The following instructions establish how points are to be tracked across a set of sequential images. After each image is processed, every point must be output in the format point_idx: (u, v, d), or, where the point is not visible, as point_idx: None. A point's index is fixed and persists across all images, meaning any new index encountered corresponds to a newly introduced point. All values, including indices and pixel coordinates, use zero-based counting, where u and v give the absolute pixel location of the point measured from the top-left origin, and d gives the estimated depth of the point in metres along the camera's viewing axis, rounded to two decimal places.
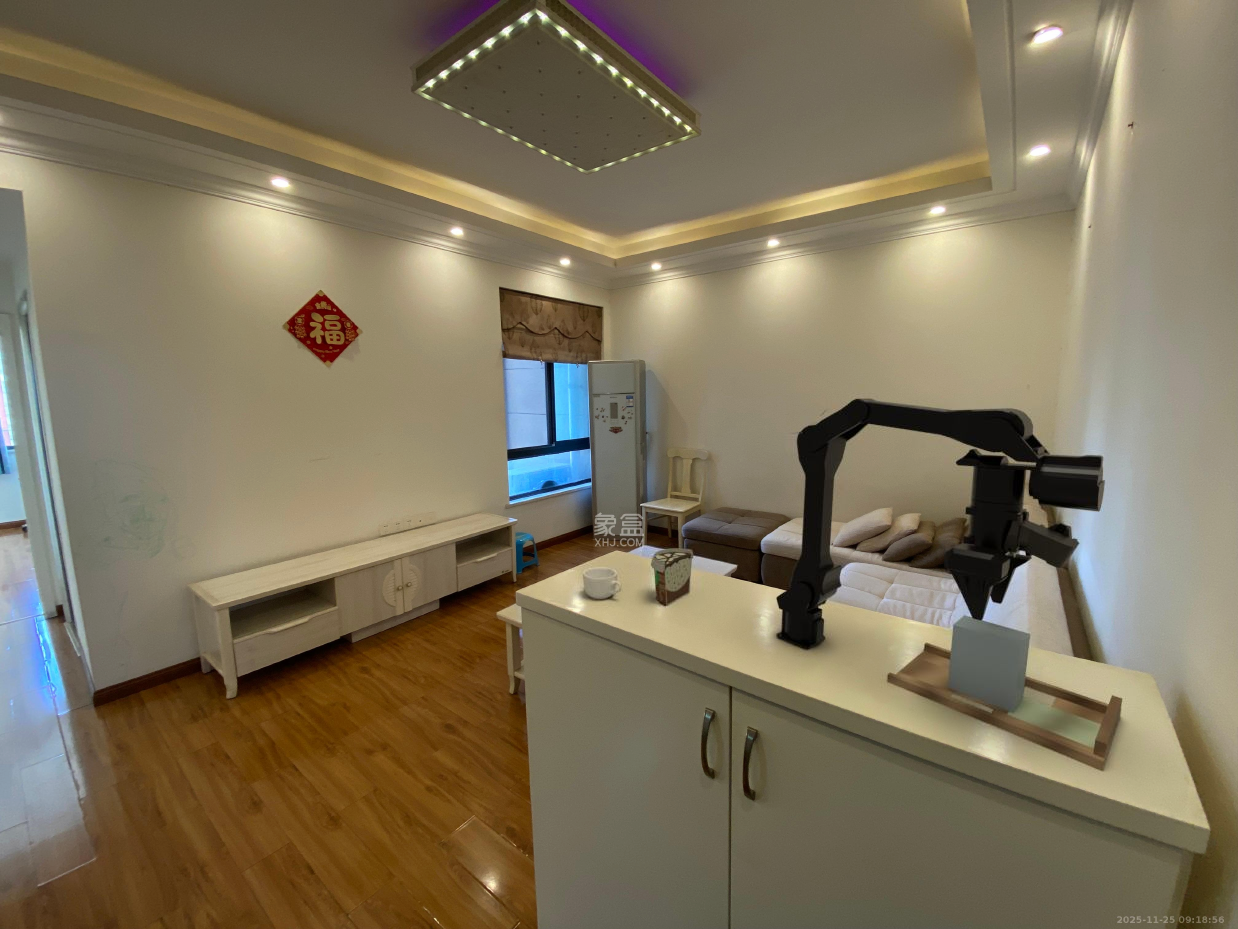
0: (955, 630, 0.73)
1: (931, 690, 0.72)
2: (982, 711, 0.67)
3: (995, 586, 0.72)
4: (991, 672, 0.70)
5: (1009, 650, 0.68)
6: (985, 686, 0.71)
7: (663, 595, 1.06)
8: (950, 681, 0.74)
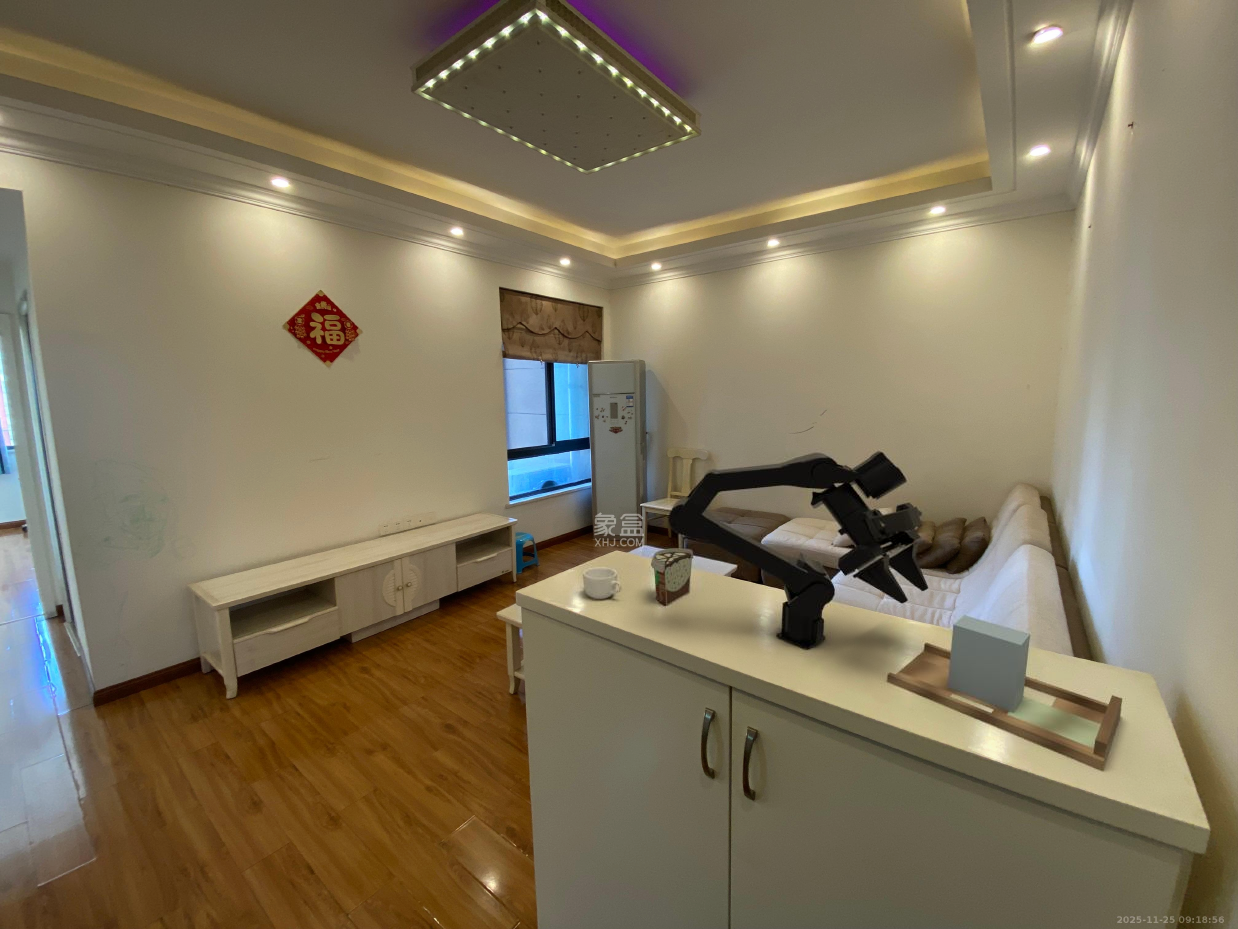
0: (955, 630, 0.73)
1: (931, 690, 0.72)
2: (982, 711, 0.67)
3: (913, 578, 0.83)
4: (991, 672, 0.70)
5: (1009, 650, 0.68)
6: (985, 686, 0.71)
7: (663, 595, 1.06)
8: (950, 681, 0.74)
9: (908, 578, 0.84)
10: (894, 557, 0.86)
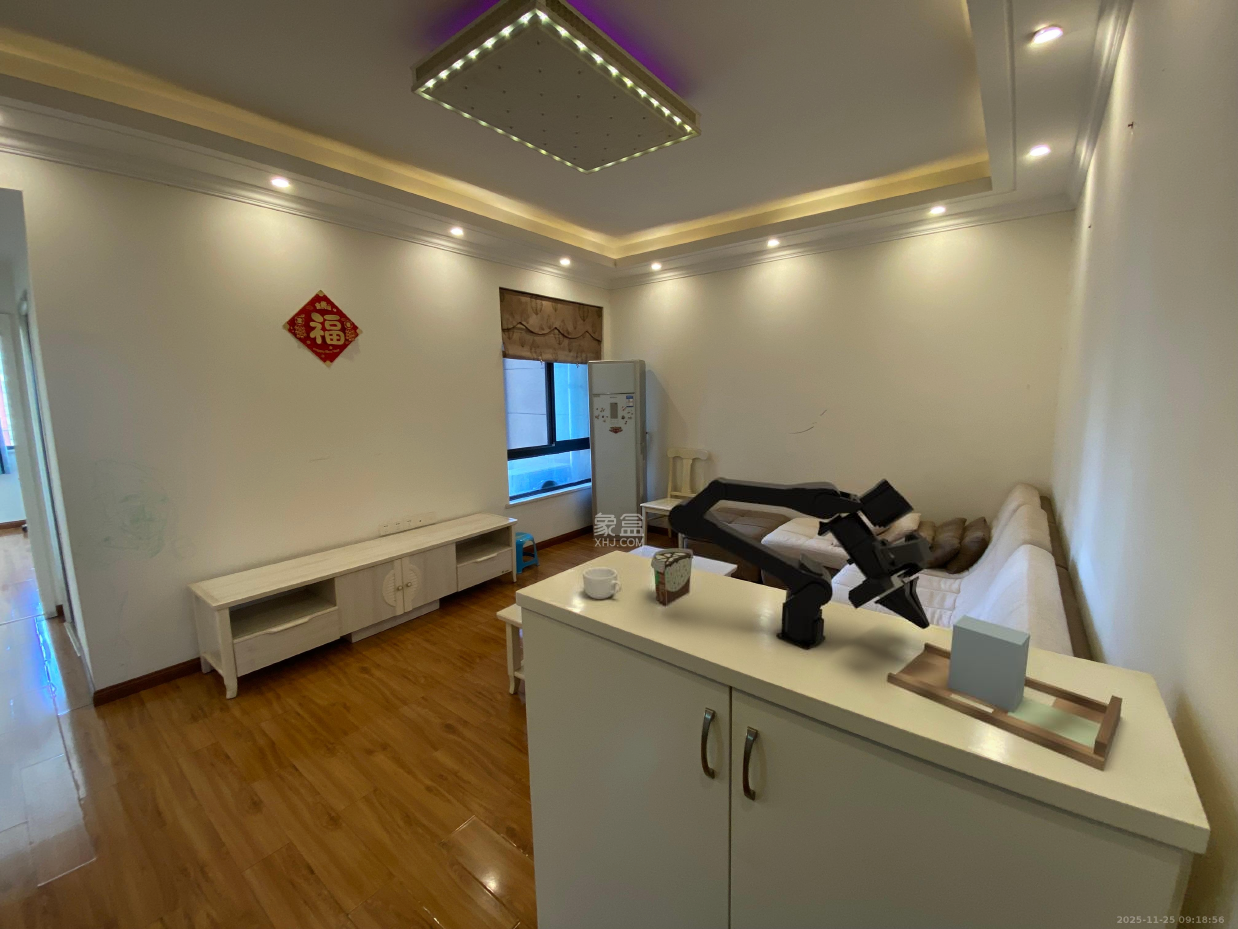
0: (955, 630, 0.73)
1: (931, 690, 0.72)
2: (982, 711, 0.67)
3: None
4: (991, 672, 0.70)
5: (1009, 650, 0.68)
6: (985, 686, 0.71)
7: (663, 595, 1.06)
8: (950, 681, 0.74)
9: None
10: None
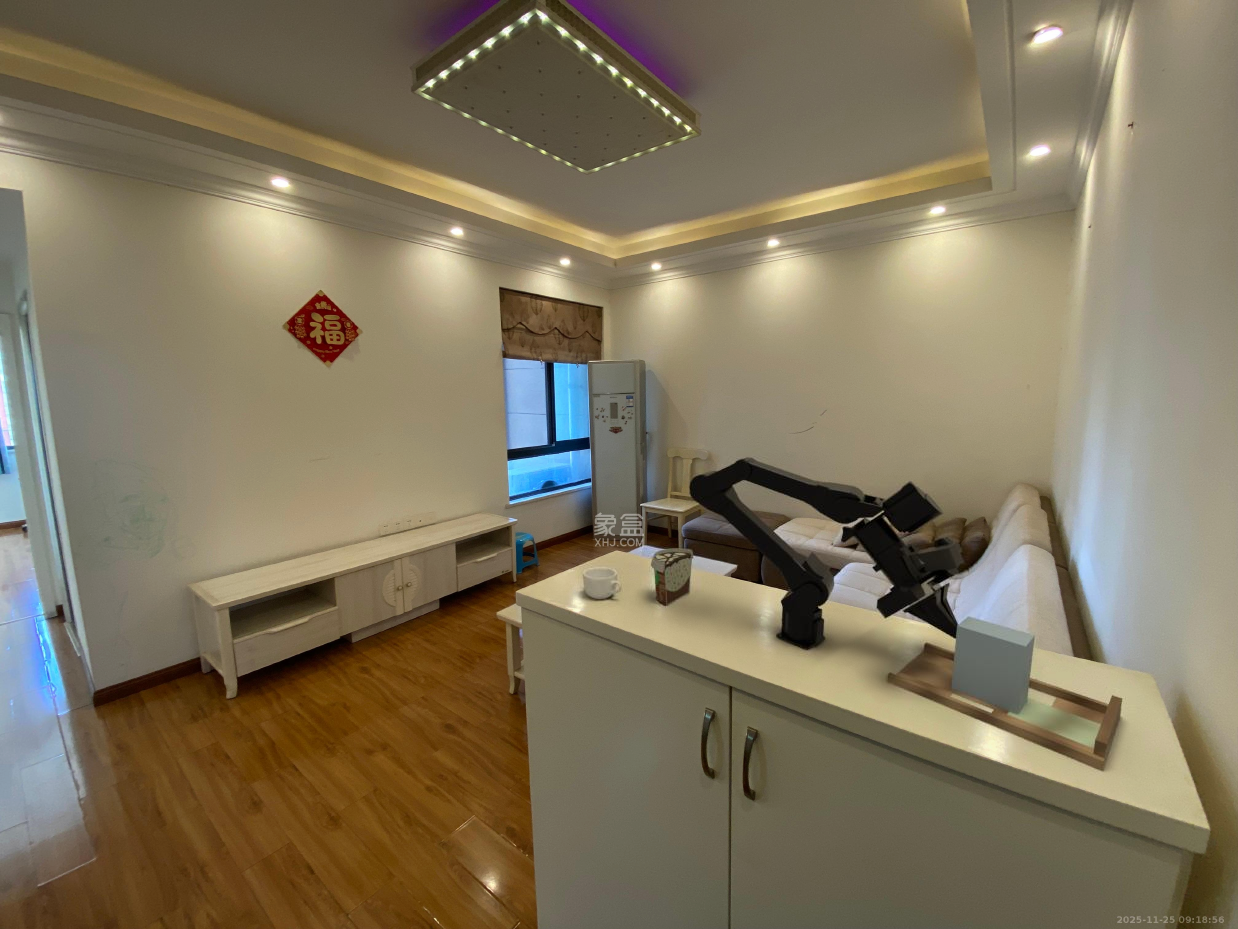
0: (959, 631, 0.73)
1: (931, 690, 0.72)
2: (982, 711, 0.67)
3: None
4: (995, 673, 0.70)
5: (1013, 652, 0.68)
6: (989, 687, 0.71)
7: (663, 595, 1.06)
8: (953, 683, 0.74)
9: None
10: None
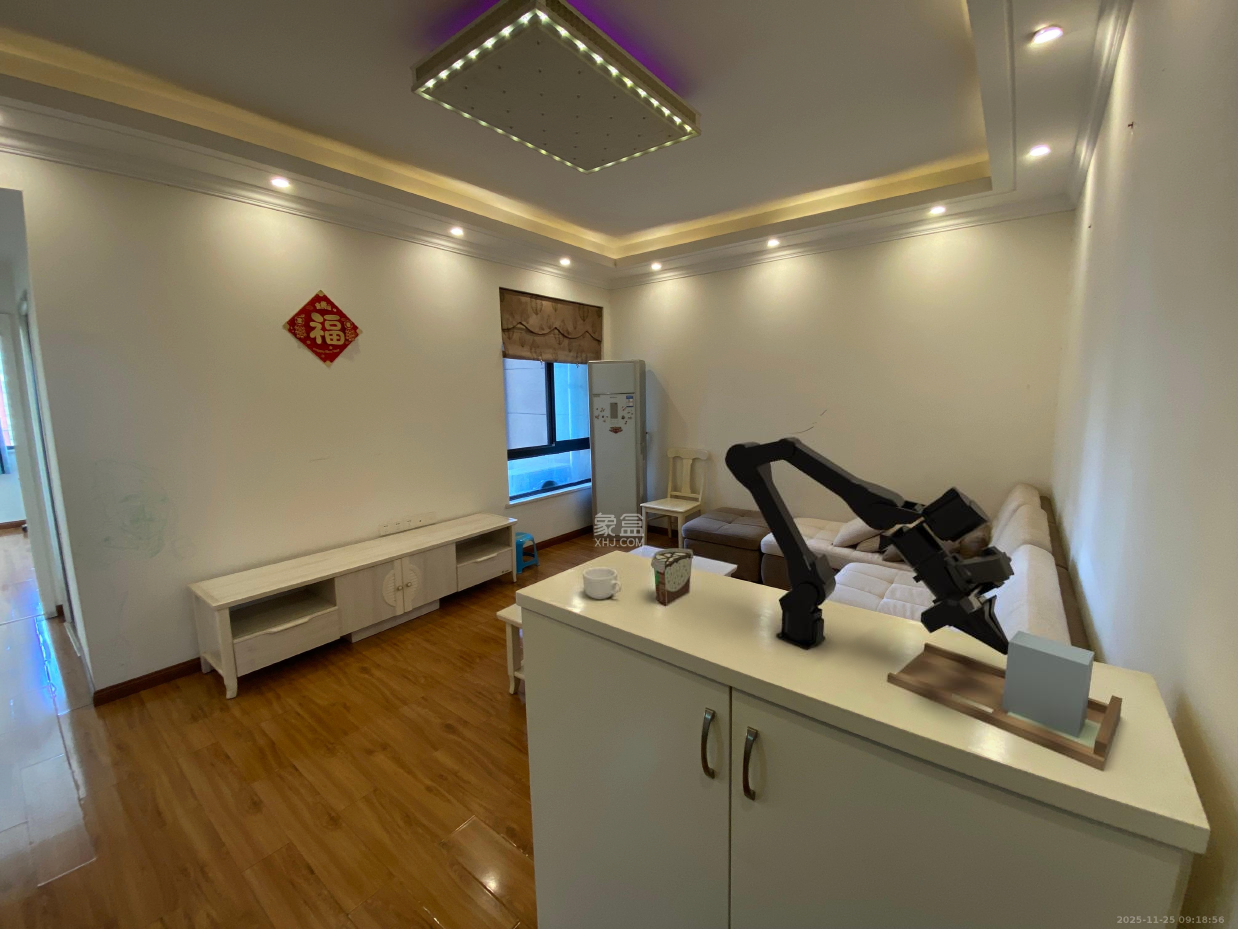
0: (1011, 647, 0.68)
1: (931, 690, 0.72)
2: (982, 711, 0.67)
3: None
4: (1052, 693, 0.65)
5: (1073, 671, 0.63)
6: (1045, 708, 0.66)
7: (663, 595, 1.06)
8: (1004, 702, 0.69)
9: None
10: None
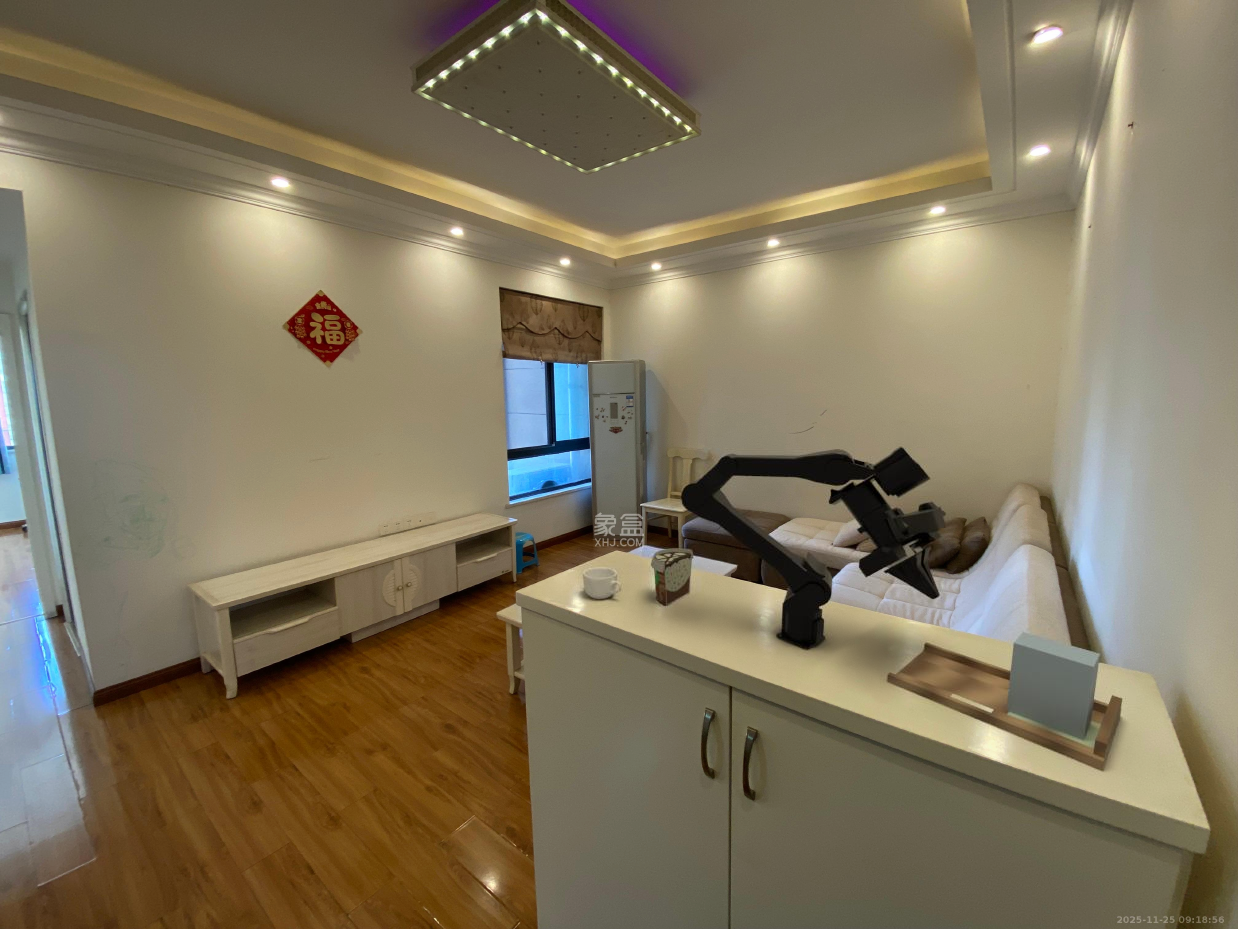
0: (1016, 649, 0.68)
1: (931, 690, 0.72)
2: (982, 711, 0.67)
3: None
4: (1057, 695, 0.65)
5: (1079, 672, 0.63)
6: (1050, 710, 0.65)
7: (663, 595, 1.06)
8: (1009, 704, 0.69)
9: None
10: None
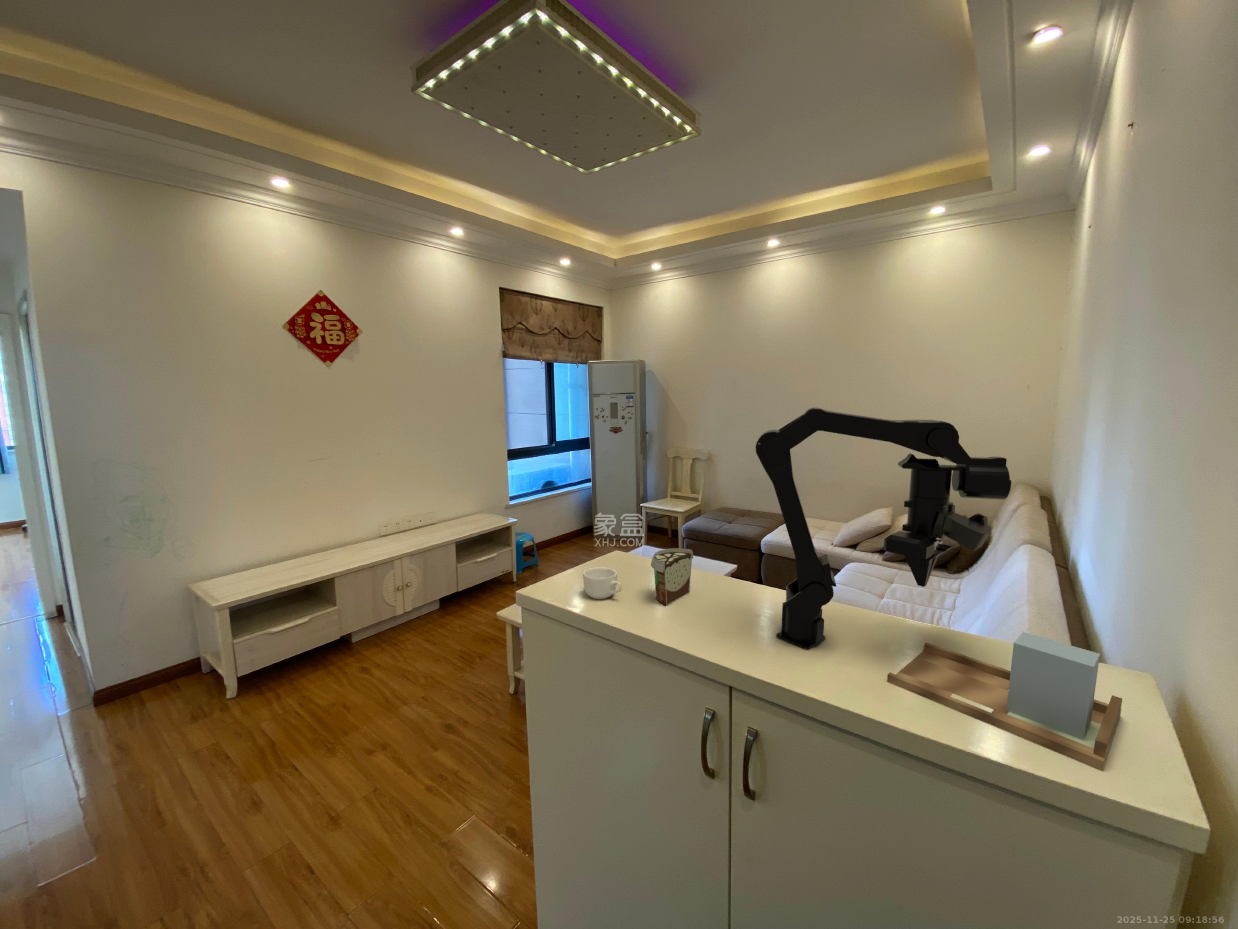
0: (1016, 649, 0.68)
1: (931, 690, 0.72)
2: (982, 711, 0.67)
3: None
4: (1057, 695, 0.65)
5: (1079, 672, 0.63)
6: (1050, 710, 0.65)
7: (663, 595, 1.06)
8: (1009, 704, 0.69)
9: None
10: None
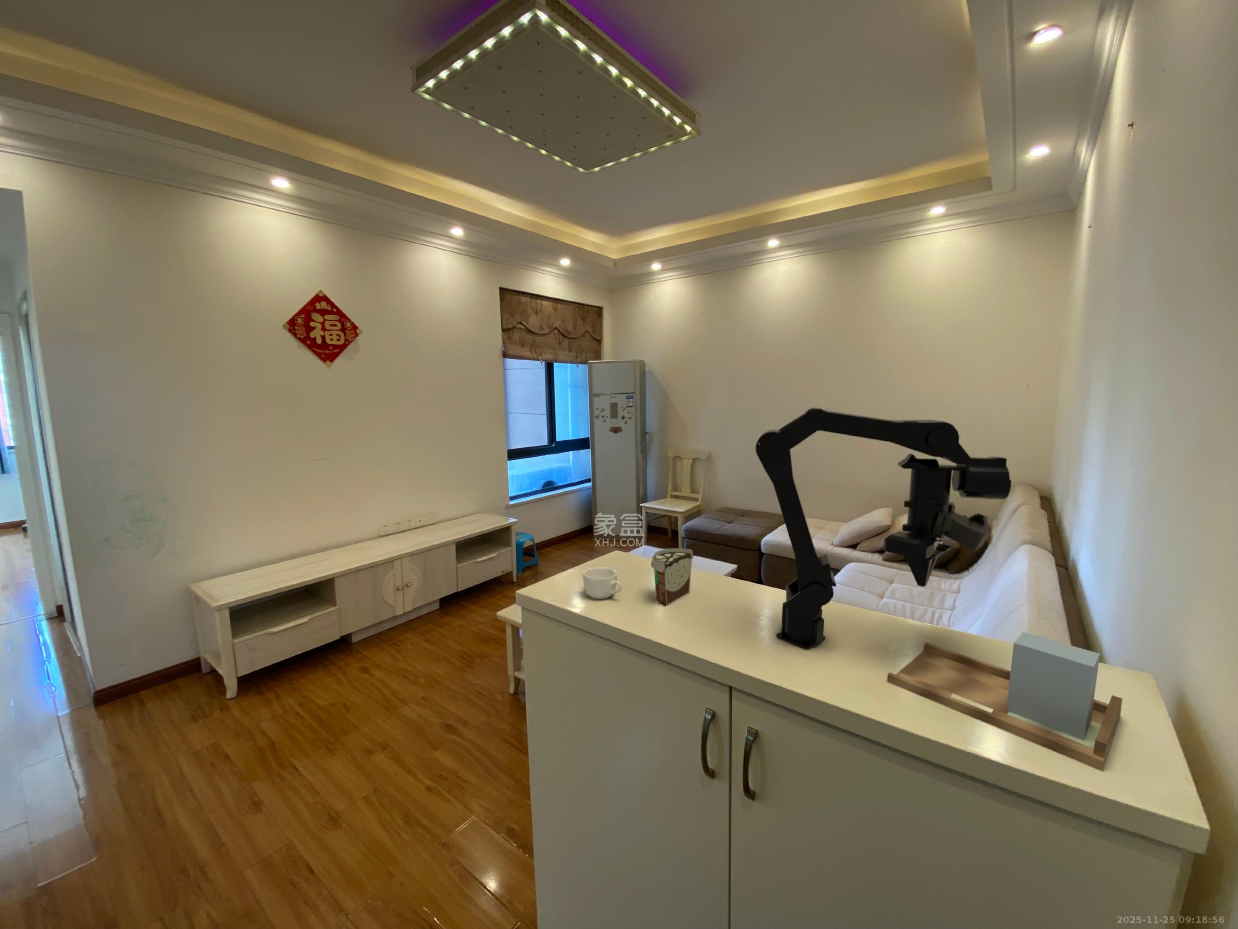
0: (1016, 649, 0.68)
1: (931, 690, 0.72)
2: (982, 711, 0.67)
3: None
4: (1057, 695, 0.65)
5: (1079, 672, 0.63)
6: (1050, 710, 0.65)
7: (663, 595, 1.06)
8: (1009, 704, 0.69)
9: None
10: None
